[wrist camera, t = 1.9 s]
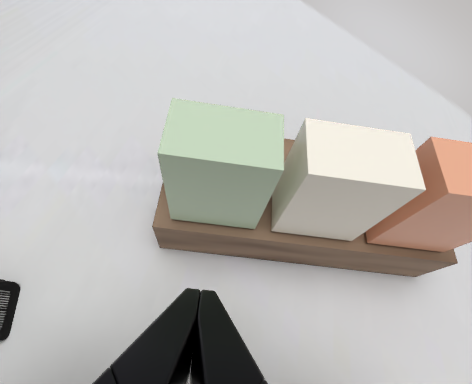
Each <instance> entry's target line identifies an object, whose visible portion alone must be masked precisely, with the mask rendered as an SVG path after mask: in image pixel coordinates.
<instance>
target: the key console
mask: <svg viewBox="0 0 472 384" xmlns="http://www.w3.org/2000/svg"><path fill="white" fill-rule="evenodd" d="M294 141H295V140H290V139H284V162H285V160H286V158H287V156H288V154H289V152H290V150H291V148H292V145H293V143H294ZM271 225H272V196H271V198H270V200H269V202H268V204H267V206H266V208H265V210H264V212H263V214H262V216H261V218H260V220H259V222H258V224H257V226H256V228H255V229H249V228H241V227H233V226H224V225H216V224H208V223H200V222H191V221H183V220H175V219H171V218H170V213H169V208H168V203H167V198H166V193H165V188H164V183H163V184H162V188H161V192H160V197H159V201H158V205H157V209H156V213H155V218H154V222H153V226H152V227H153V230H154V233H155V235H156V238H157V241H158V244H159V246H160V248H168V249H176V250H185V251H194V252H203V253H211V254H220V255H229V256H238V257H246V258H255V259H264V260H272V261H281V262H290V263H299V264H307V265H316V266H325V267H333V268H342V269H351V270H360V271H368V272H377V273H386V274H395V275H403V276H412V277H416V276H420V275H423V274H426V273H429V272H432V271H435V270H438V269H441V268H444V267H447V266H451V265H454V264H457V263H458V262H457V259H456V256H455V252H454V249H451V250H449V251H446V252H438V251H430V250H422V249H414V248H405V247H397V246H389V245H381V244H372V243H367V237H366V232H364V233H363V234H361V235H360V236H358V237H357V238H355V239H354V240H352V241H348V240H340V239H331V238H323V237H315V236H307V235H298V234H290V233H282V232H274V231H271Z"/></svg>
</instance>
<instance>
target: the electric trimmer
mask: <svg viewBox="0 0 472 384" xmlns="http://www.w3.org/2000/svg"><path fill="white" fill-rule="evenodd" d="M19 292H20V287H19V285H18V284H17V283H15V282H10V281H5V280H1V279H0V340H3V339H5V338H6V337H7V336H8V335H9V333H10V330H11V326H12V322H13V318H14V314H15V310H16V305H17V301H18V297H19Z"/></svg>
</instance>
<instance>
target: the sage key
mask: <svg viewBox="0 0 472 384" xmlns="http://www.w3.org/2000/svg"><path fill="white" fill-rule="evenodd" d="M158 158H159V163H160V168H161V173H162V178H163V183H164V188H165V193H166V198H167V203H168V208H169V213H170V218H171V219H175V220H183V221H191V222H200V223H208V224H216V225H224V226H233V227H241V228H249V229H255V228H256V226H257V224H258V222H259V220H260V218H261V216H262V214H263V212H264V210H265V208H266V206H267V204H268V202H269V200H270V198H271V196H272V194H273V192H274V190H275V187H276V185H277V183H278V181H279V179H280V177H281V175H282V173H283V171H284V115H282V114H275V113H269V112H262V111H255V110H249V109H242V108H235V107H229V106H222V105H215V104H208V103H202V102H195V101H188V100H182V99H175V98H172V100H171V104H170V108H169V112H168V115H167V119H166V123H165V127H164V131H163V134H162V138H161V142H160V146H159V149H158Z"/></svg>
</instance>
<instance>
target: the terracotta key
mask: <svg viewBox="0 0 472 384" xmlns="http://www.w3.org/2000/svg"><path fill="white" fill-rule="evenodd" d="M415 152H416V155H417V159H418V162H419V166H420V170H421V173H422V177H423V180H424V184H425V188H426V190H425V191H424V192H422V193H421V194H419V195H418V196H417V197H415V198H414V199H412V200H411V201H409V202H408V203H406V204H405V205H403V206H402V207H400V208H399V209H398V210H396V211H395V212H393V213H392V214H390V215H389V216H387V217H386V218H384V219H383V220H382V221H380V222H379V223H377V224H376V225H374V226H373V227H371V228H370V229H368V230H367V231H366V237H367V243H372V244H381V245H389V246H397V247H405V248H414V249H422V250H430V251H438V252H446V251H449V250H451V249H454V248H456V247H459V246H462V245H464V244H467V243H469V242H472V143H469V142H463V141H456V140H449V139H443V138H436V137H430V138H429V139H428V140H427V141H426V142H425V143H423V144H422V145H421V146H420V147H419V148H418V149H417V150H416V151H415Z"/></svg>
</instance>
